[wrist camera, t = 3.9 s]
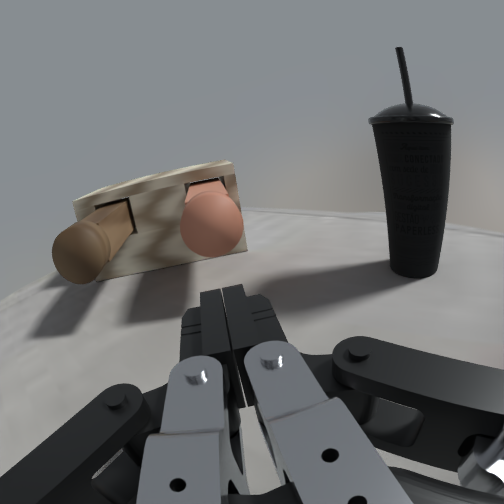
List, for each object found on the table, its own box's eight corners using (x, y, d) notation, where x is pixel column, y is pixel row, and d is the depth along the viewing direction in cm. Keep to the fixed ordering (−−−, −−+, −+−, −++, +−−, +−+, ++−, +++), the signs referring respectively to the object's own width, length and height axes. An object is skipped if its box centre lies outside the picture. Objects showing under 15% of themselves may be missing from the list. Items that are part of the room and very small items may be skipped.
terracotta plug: (187, 262, 22) (173, 202, 20) (192, 214, 37) (185, 179, 36) (247, 250, 22) (237, 189, 21) (227, 207, 38) (221, 172, 36)
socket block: (96, 281, 34) (72, 201, 30) (118, 250, 45) (102, 187, 41) (247, 250, 36) (233, 163, 32) (235, 225, 47) (224, 159, 43)
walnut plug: (63, 288, 21) (45, 235, 19) (112, 233, 36) (103, 199, 35) (109, 278, 21) (92, 222, 20) (144, 225, 37) (136, 190, 35)
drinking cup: (413, 295, 21) (397, 29, 14) (360, 263, 28) (339, 52, 21) (465, 269, 23) (456, 49, 16) (413, 245, 30) (399, 61, 22)
